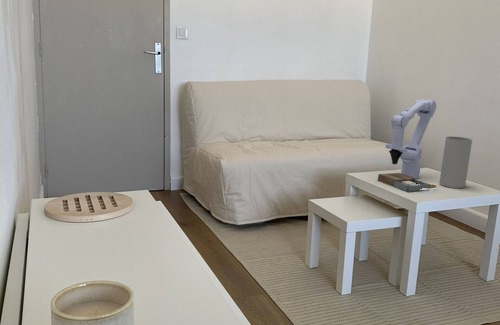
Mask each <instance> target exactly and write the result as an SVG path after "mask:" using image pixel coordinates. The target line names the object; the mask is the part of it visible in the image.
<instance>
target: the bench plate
mask: <svg viewBox="0 0 500 325" xmlns="http://www.w3.org/2000/svg"><path fill="white" fill-rule="evenodd" d="M377 175H378V177H377V181H378V182H380V183H383V184H386V185H387V186H391V187H393V188H395V187H394V181H397V182H399V183H402V181H411V182H415V178H413V177H410V176H407V175H404V174H401V172H391V173H389V172H388V173H378V174H377Z"/></svg>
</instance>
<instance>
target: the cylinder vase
mask: <svg viewBox="0 0 500 325" xmlns="http://www.w3.org/2000/svg"><path fill="white" fill-rule="evenodd" d="M472 144H473V139H472V138H469V137H464V136H463V137H462V136H452V135H451V136H446V137H445V141H444V148H443V156H442V162H441V170H440V178H439V185H441V186H443V187H447V188H451V189H464V188H465V187H466V184H467V177H468V170H469V164H470V158H471V150H472Z"/></svg>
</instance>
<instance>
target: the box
mask: <svg viewBox="0 0 500 325" xmlns="http://www.w3.org/2000/svg"><path fill="white" fill-rule="evenodd" d="M414 183H417V184H420V185H412V186H407V185H405V184H402V183H399V182H397V181H394V187H393V188H396V189H397V190H398V189H399V190H402V191H403V192H406V193H411V192H412V193H414V192H420V191H419V190H420V189H422V188H430V187H431V184H430V183H427V182H424V181H421V180H418V179H415V182H414ZM430 189H431V188H430Z"/></svg>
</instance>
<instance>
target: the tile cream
mask: <svg viewBox="0 0 500 325" xmlns="http://www.w3.org/2000/svg"><path fill="white" fill-rule="evenodd" d="M402 184H405V185H407V186H408V184H415V183H414V182H411V181H402Z"/></svg>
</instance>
